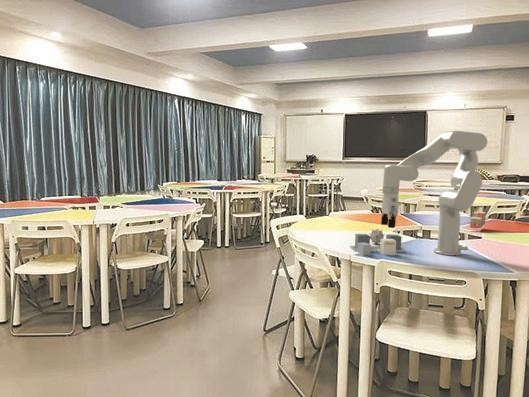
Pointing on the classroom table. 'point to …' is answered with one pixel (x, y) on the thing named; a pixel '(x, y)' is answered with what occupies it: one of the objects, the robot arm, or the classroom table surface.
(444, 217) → the robot arm
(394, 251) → the block
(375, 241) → the grey spiky ball
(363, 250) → the block
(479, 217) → the stack of blocks
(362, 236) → the rail
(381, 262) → the classroom table surface
